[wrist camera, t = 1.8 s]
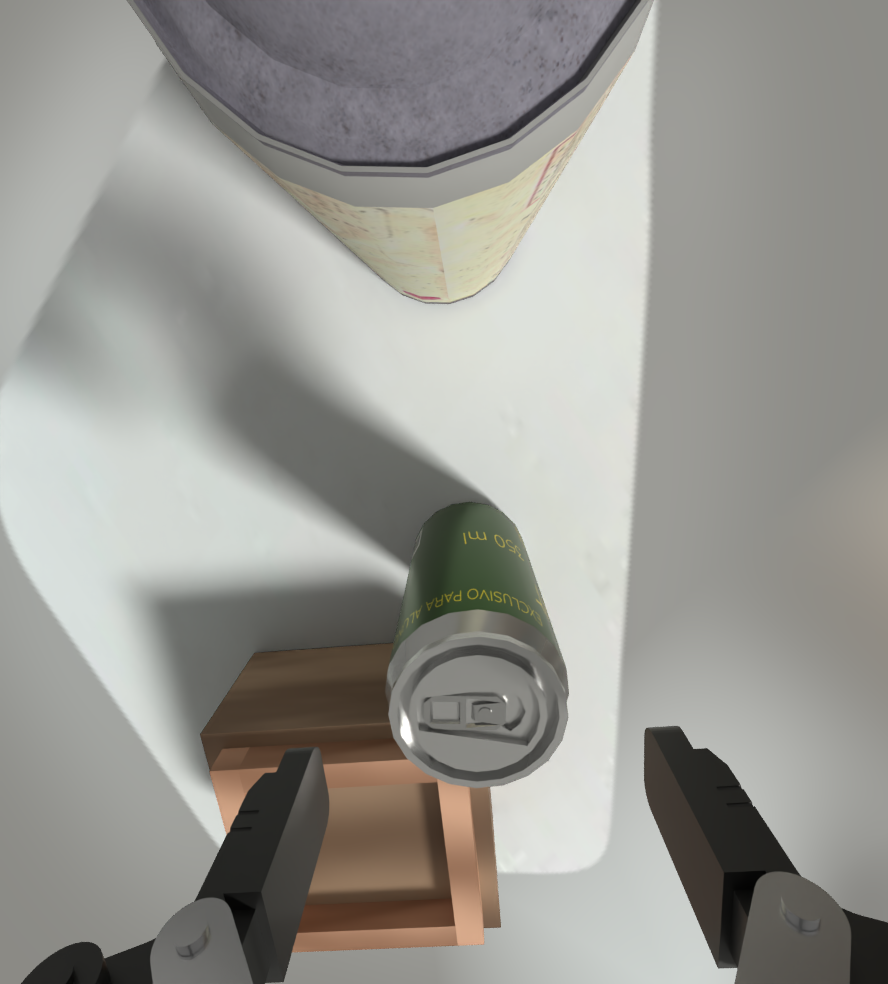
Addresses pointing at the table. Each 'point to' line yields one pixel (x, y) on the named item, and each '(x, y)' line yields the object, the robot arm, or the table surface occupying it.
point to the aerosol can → (406, 114)
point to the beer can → (475, 655)
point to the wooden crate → (360, 804)
